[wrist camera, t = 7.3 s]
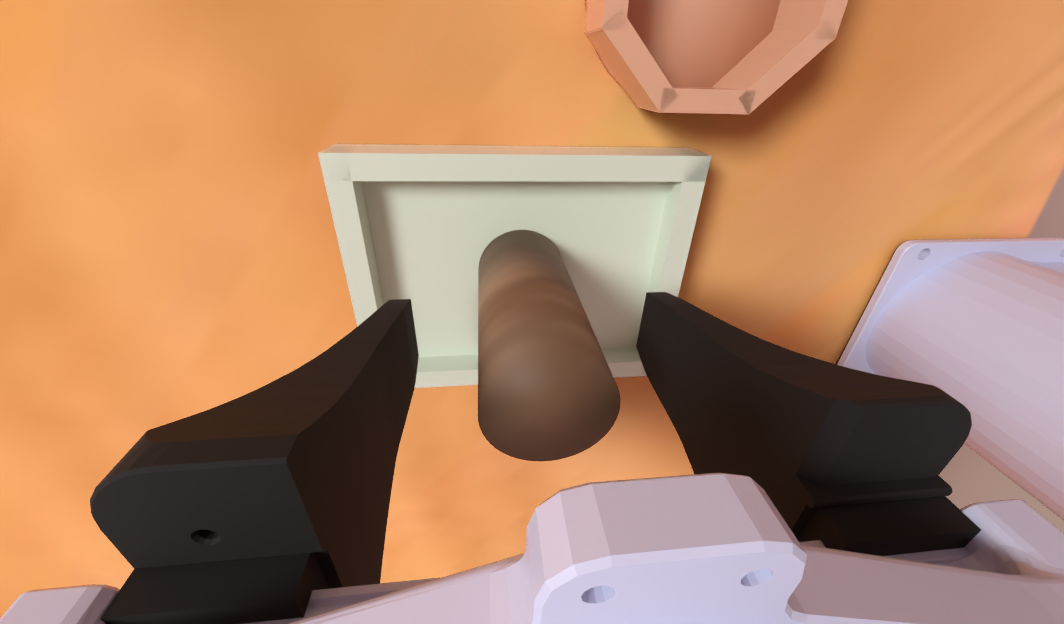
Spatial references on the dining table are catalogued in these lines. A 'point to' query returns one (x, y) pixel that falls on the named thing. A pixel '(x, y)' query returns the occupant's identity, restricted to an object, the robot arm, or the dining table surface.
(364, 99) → the dining table surface
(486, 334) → the peg
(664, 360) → the robot arm
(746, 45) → the holder
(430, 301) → the tray
